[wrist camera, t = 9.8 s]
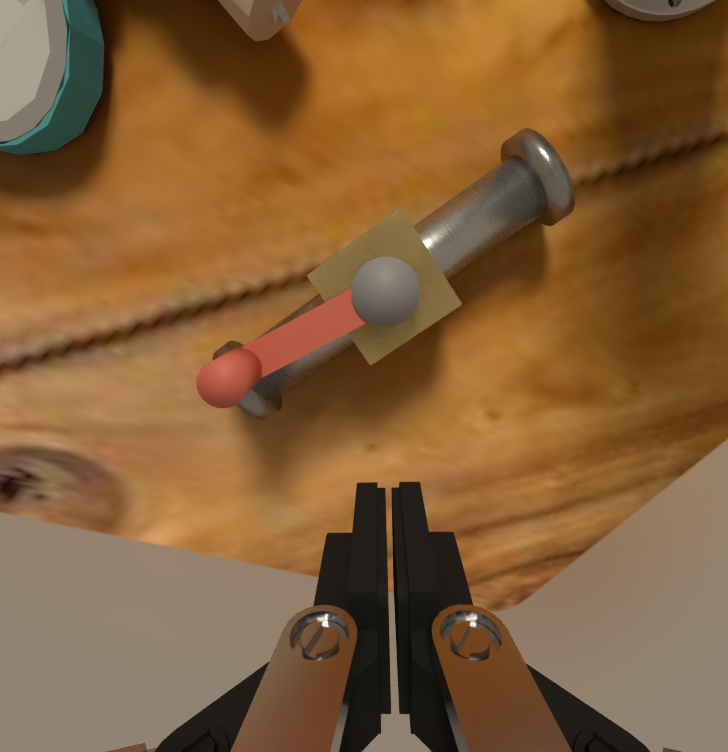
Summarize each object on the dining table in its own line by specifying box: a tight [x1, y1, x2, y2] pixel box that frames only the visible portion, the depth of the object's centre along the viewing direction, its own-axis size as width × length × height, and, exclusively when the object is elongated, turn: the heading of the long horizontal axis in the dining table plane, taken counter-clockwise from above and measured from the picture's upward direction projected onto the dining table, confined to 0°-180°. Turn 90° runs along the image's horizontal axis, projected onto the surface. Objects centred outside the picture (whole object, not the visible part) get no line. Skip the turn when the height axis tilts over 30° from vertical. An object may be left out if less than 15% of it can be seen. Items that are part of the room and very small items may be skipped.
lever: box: [197, 257, 420, 408], centre depth 25 cm, size 13×4×5 cm, turn 118°
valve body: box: [213, 128, 575, 420], centre depth 31 cm, size 26×7×8 cm, turn 125°
